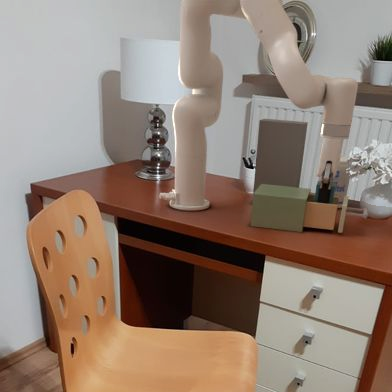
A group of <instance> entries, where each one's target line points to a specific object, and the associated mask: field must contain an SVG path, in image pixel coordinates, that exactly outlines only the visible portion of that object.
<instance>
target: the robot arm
mask: <svg viewBox="0 0 392 392" xmlns="http://www.w3.org/2000/svg"><path fill="white" fill-rule="evenodd" d="M180 1H181V2H180V10H179V16H180V17H179V23H180V24H179V29H180V30H179V44H178V45H179V46H178V48H179V49H178V79H179V81H180V84H181V85H182V86H183V87H185V88H186V89H189V90H192V93H191V94H185V95H183V96H181V97H179V99H178V100H177V101H176V102H175V104H174V106H173V109H172V124H173V125H172V126H173V131H174V188H172V191H169V192H160V193H159V200H164V201H169V206H170V207H171V208H172V209H176V210H179V211H188V212H189V211H191V212H192V211H202V210H203V211H204V210H206V209H208V208H209V207H210V203H211V202H210V201H209V200H208V199H206V179H207V156H208V153H207V152H208V142H207V134H206V128H210V127H211V126H213V125H214V124H216V123H217V121H218V119H219V117H220V115H221V109H222V97H223V84H224V69H223V67H224V66H223V63H222V61H221V59H220V57H219V56H218V55H217V54H216V53H214V51H211V43H212V28H211V27H212V26H211V21H210V20H211V19H210V18H211V16H213V15H216V16H217V15H218V16H223V17H231V18H237V19H238V18H239V19H243V20H246V21H247V22H248V24H249V25H250V27H251V28H252V29H253V32H254V33H255V35H256V37H257V38H258V39H259V41H260V44H261V45H262V46H263V48H264V51H266V53H267V55H268V58H269V61H270V64H271V67H272V69H273V73H274V75H275V77H276V79H277V81H278V83H279V85H280V87H281V88H282V90H283V91H284V93H285V94H286V96H287V98H288V99H289V100H290V102H291V103H292V105H294V106H295V107H297V108H298V109H301V110H309V109H311V108H317V107H323V111H322V116H321V117H322V119H321V124H320V130H319V131H320V132H319V137H320V138H322V142H321V146H320V152H319V153H320V154H319V160H318V165H317V172H316V176H317V177H318V178H319V175H320V176H321V175H322V179H321V185H320V188H319V193H318V199H317V203H325V204H329V200H330V194H331V189H330V188H331V182H332V180H333V178H334V177H335V175H336V172H337V169H338V165H339V161H340V157H342V156H341V155H342V151H343V146H344V141H345V140H348V139H350V133H351V128H352V123H353V116H354V111H355V106H356V99H357V95H358V94H357V93H358V88H359V84H358V83H359V82H358V81H357V80H356V79H355V78H349V77H329V76H324V75H320V74H312V72H311V71H310V70H309V68H308V66H307V64H306V63H305V61H304V59H303V57H302V55H301V53H300V50H299V46H298V31H297V28H296V26H295V25H294V23H293V22H292V20H291V18H290V17H289V16H288V14H287V11H286V10H285V9H284V7H283V0H180Z"/></svg>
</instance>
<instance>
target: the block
mask: <svg viewBox="0 0 392 392" xmlns="http://www.w3.org/2000/svg"><path fill="white" fill-rule="evenodd" d="M320 185H321V181H319V180H318V181H317V183H316V186H315V191H314V192H315V193H314V194H315V198H314V202H316V203H317V199H318V193H319V188H320ZM335 187H336V183H335V182H331V188H330V189H331V194H330V200H329V204H332V203H333V199H334V193H335Z"/></svg>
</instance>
